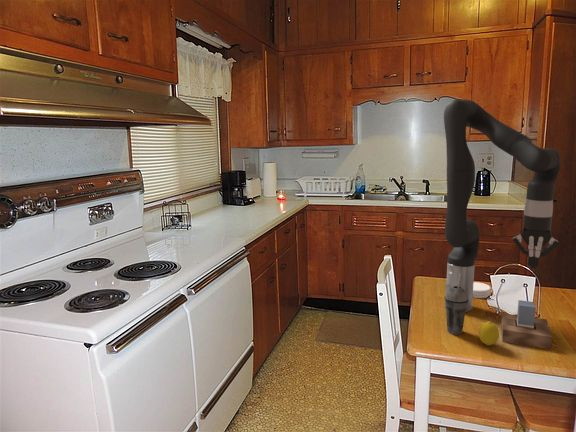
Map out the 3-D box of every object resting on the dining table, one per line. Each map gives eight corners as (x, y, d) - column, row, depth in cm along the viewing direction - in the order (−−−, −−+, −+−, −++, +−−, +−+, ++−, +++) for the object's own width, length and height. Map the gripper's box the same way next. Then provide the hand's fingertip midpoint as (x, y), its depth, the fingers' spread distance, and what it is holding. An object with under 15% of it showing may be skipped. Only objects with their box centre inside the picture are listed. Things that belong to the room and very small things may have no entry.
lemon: (474, 342, 132) (476, 318, 130) (491, 340, 132) (493, 317, 131) (484, 350, 126) (486, 326, 125) (501, 349, 127) (503, 324, 125)
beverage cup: (438, 329, 141) (440, 272, 137) (454, 325, 144) (457, 268, 140) (454, 338, 134) (457, 279, 130) (471, 334, 137) (475, 275, 133)
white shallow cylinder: (490, 300, 164) (491, 291, 163) (462, 296, 168) (463, 288, 167) (490, 291, 172) (491, 283, 172) (464, 288, 177) (464, 280, 176)
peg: (516, 337, 134) (519, 305, 132) (515, 331, 138) (518, 300, 136) (532, 340, 132) (535, 307, 130) (531, 334, 136) (534, 302, 134)
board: (502, 341, 132) (503, 329, 131) (501, 324, 143) (501, 313, 142) (550, 349, 126) (552, 337, 125) (545, 330, 138) (546, 319, 137)
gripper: (514, 214, 129) (509, 268, 132) (565, 217, 123) (558, 274, 127) (513, 210, 136) (508, 261, 139) (561, 213, 130) (555, 266, 133)
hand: (532, 267), depth 133 cm, fingers closed
